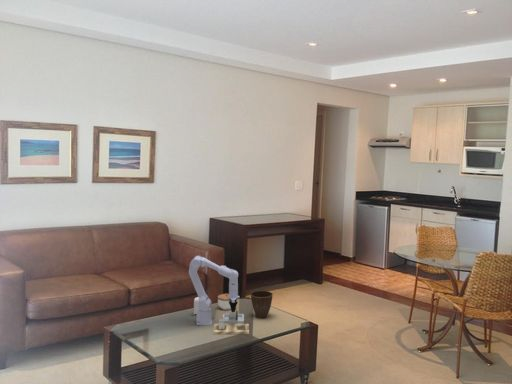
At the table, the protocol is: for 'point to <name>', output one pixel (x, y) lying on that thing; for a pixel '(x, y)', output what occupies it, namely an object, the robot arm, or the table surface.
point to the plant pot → (261, 303)
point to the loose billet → (233, 316)
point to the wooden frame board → (231, 329)
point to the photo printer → (196, 305)
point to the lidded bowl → (224, 301)
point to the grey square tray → (240, 321)
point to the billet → (221, 324)
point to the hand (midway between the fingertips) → (233, 310)
